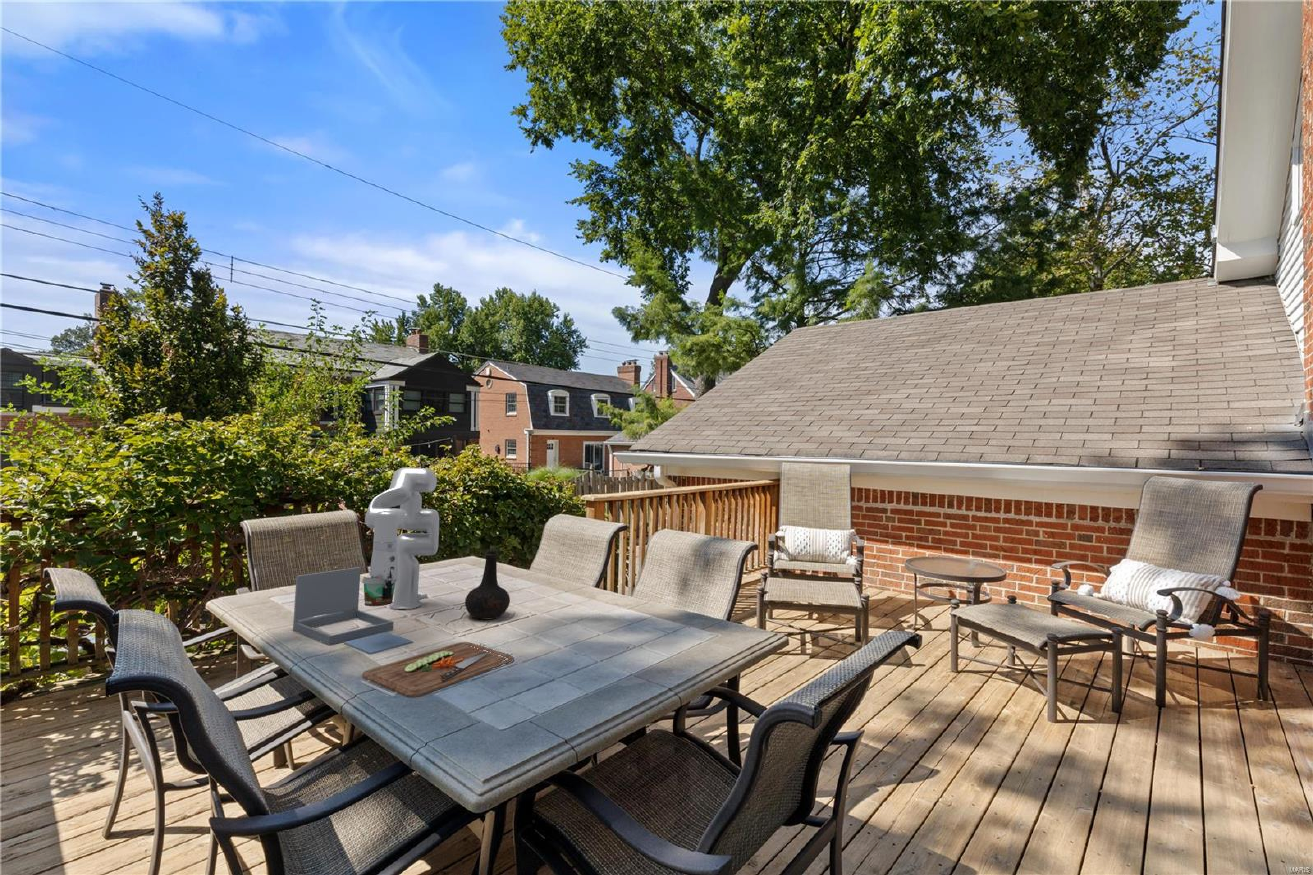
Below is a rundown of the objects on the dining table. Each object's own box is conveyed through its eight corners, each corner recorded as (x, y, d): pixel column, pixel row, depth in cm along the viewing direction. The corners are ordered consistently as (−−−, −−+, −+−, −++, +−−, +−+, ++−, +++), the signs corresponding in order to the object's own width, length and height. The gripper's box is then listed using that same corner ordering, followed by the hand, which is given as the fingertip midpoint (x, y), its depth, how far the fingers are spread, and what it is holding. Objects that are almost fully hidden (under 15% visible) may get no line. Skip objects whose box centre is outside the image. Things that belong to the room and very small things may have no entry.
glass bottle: (455, 619, 238) (459, 550, 239) (480, 608, 256) (484, 544, 256) (493, 625, 233) (497, 555, 234) (516, 614, 250) (520, 548, 251)
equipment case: (356, 616, 235) (359, 566, 236) (393, 629, 222) (396, 576, 222) (292, 630, 215) (296, 575, 215) (329, 645, 201) (333, 587, 202)
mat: (386, 633, 217) (386, 631, 217) (412, 642, 208) (412, 641, 208) (343, 643, 204) (343, 642, 204) (370, 654, 195) (370, 652, 195)
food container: (370, 609, 199) (371, 579, 200) (360, 606, 203) (362, 577, 203) (403, 602, 209) (404, 574, 210) (394, 599, 213) (395, 572, 213)
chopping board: (470, 642, 213) (470, 634, 213) (523, 659, 199) (523, 650, 199) (350, 679, 175) (350, 669, 175) (404, 704, 161) (405, 692, 161)
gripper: (409, 548, 205) (405, 599, 205) (380, 542, 215) (377, 591, 214) (389, 550, 199) (386, 603, 199) (361, 544, 208) (357, 595, 208)
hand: (381, 597), depth 206 cm, fingers closed on food container, 5 cm apart
